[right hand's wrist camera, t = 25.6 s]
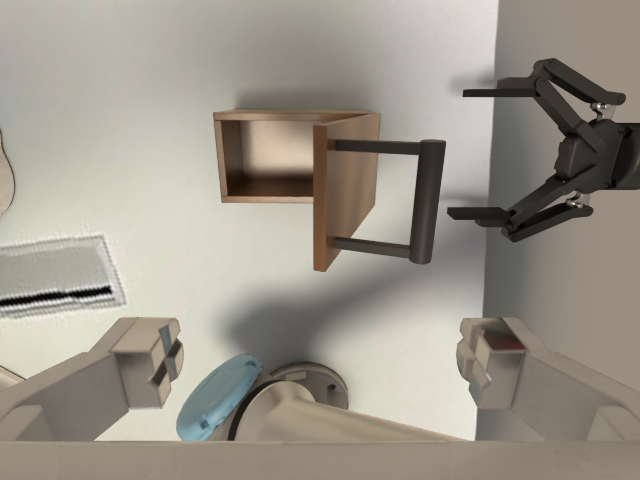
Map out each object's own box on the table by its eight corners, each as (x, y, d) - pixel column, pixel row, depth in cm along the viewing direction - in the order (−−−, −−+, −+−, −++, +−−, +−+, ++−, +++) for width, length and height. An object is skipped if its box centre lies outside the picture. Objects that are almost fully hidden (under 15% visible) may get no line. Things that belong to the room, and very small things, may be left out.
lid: (313, 270, 25) (427, 288, 23) (312, 125, 22) (447, 129, 19) (367, 204, 41) (438, 210, 39) (372, 113, 37) (450, 114, 35)
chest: (239, 183, 50) (221, 202, 41) (234, 109, 47) (212, 112, 38) (361, 183, 51) (370, 203, 41) (364, 110, 47) (375, 113, 38)
